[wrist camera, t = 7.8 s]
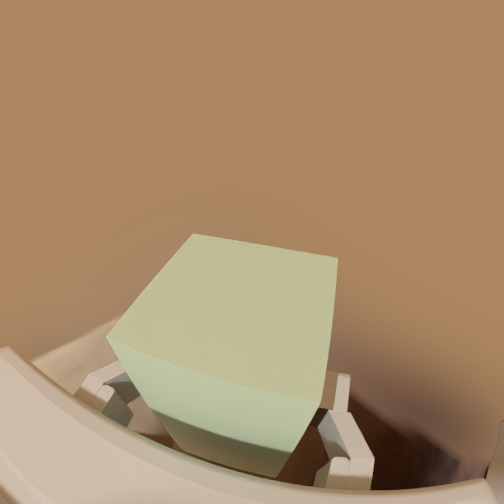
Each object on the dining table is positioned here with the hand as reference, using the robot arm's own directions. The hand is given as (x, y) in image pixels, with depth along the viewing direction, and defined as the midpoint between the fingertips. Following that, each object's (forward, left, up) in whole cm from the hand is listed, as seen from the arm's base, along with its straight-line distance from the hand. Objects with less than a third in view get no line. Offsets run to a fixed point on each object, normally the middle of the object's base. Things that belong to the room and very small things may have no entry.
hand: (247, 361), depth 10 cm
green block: (0, +1, -6) cm, 6 cm away
